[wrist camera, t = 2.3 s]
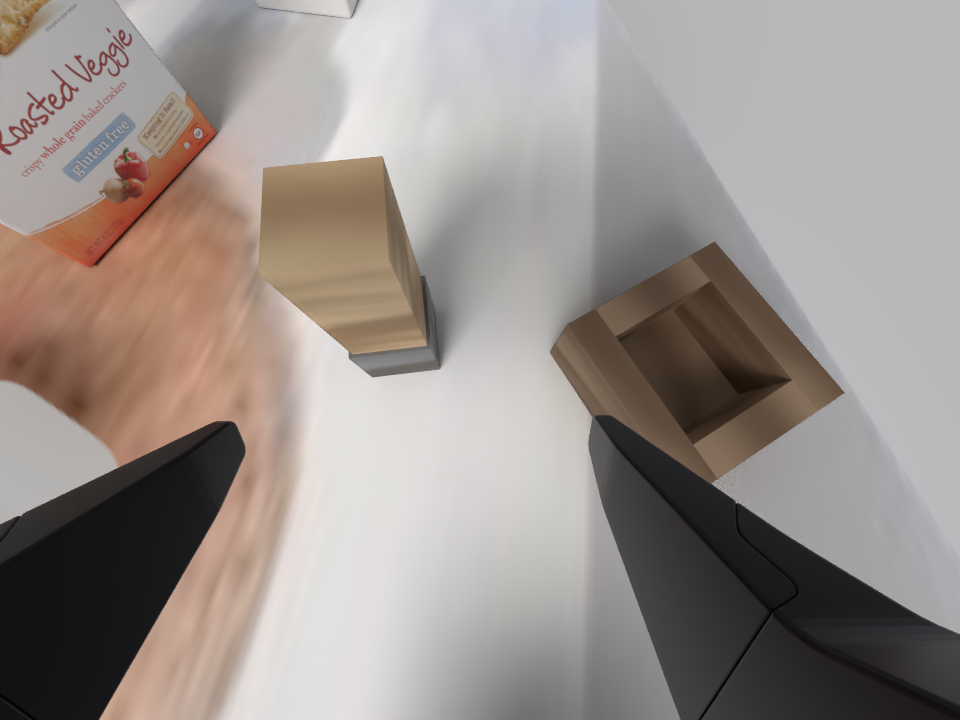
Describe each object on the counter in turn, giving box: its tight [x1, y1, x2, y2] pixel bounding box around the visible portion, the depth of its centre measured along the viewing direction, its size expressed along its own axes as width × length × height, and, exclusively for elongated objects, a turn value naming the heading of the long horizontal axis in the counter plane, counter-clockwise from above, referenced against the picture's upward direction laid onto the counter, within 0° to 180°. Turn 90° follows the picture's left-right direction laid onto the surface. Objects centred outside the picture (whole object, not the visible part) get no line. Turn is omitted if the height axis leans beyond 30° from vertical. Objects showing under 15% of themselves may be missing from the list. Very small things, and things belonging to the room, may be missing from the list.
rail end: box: [258, 156, 440, 377], centre depth 18 cm, size 4×4×13 cm
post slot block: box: [550, 242, 844, 484], centre depth 21 cm, size 10×10×5 cm
